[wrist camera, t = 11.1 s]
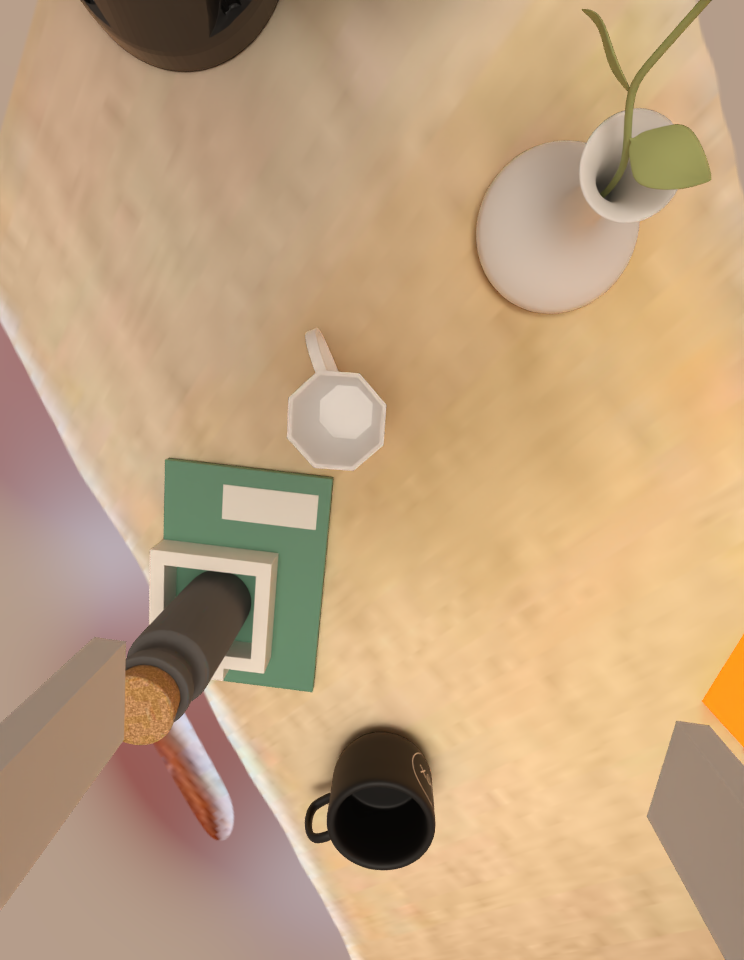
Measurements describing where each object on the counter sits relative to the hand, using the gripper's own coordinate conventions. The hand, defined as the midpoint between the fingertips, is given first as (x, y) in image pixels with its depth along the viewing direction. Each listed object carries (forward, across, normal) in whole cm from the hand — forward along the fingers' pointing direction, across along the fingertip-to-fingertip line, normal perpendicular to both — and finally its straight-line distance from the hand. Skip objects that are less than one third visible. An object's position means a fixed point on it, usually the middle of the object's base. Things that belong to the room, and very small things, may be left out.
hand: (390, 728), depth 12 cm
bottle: (+31, -14, -14) cm, 36 cm away
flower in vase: (+32, +9, +20) cm, 38 cm away
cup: (+31, -5, +5) cm, 32 cm away
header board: (+31, -12, -12) cm, 35 cm away
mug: (+31, +2, -30) cm, 43 cm away
